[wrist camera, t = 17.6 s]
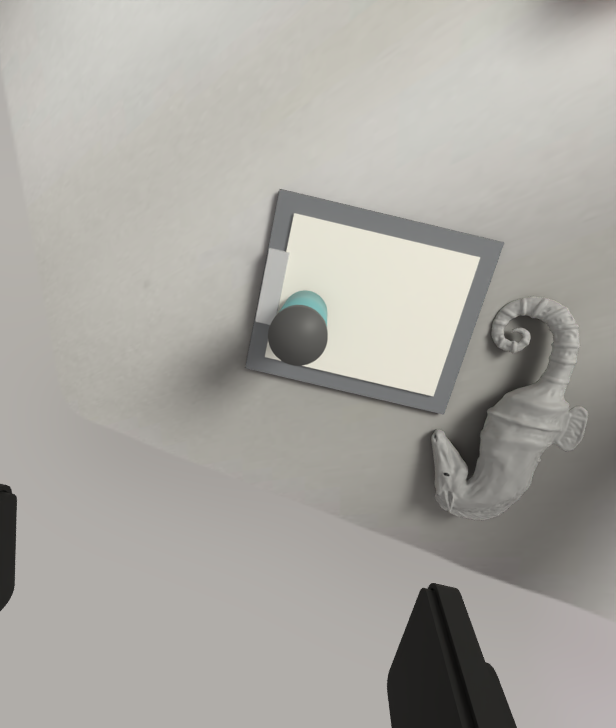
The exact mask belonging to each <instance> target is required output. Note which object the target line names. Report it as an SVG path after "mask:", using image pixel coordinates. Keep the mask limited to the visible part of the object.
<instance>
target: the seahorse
mask: <svg viewBox="0 0 616 728" xmlns="http://www.w3.org/2000/svg"><path fill="white" fill-rule="evenodd" d="M519 315H522V316H524V315H527V316H530V317H531V318H537V319H540V320H541V321H542V322H545V323H546V324H547V325H548V326H549V330H550V331H551V332H552V334H553V341H554V342H553V343H552V344H551V346H552V352H551V355H550V356H549V363H548V366H547V369H546V370H545V372H544V373H543V374H542V376H541V377H540V379H539V380H538V381H537V382H536V383H534V384H531V385H528V386H524V387H521V388H518V389H515V390H513V391H511V392H508V393H506V394H505V395H504V396H503V398H502V399H501V400H500V401H499V402H498V403H497V404H496V405H495V406H494V407H491V408H489V409H488V410H487V415H488V416H487V418H486V421H485V424H484V428H483V429H482V431H481V433H480V439H481V442H480V449H479V452H480V456H479V458H478V460H477V464H476V469H475V472H474V474H473V476H472V477H471V478H469V479H467V475H468V467H467V465H466V463H465V462H464V461H463V459H462V458H461V456H460V454H459V452H458V451H457V450H456V448H455V447H454V446H453V445H452V443H451V442H450V441H449V440H448V438H447V437H446V436H445V433H444V432H443V431H442V430H440V429H436V430H435V432H434V433H433V434H432V436H431V442H432V447H433V456H434V463H435V482H434V485H435V489H436V494H435V500H436V502H438V503H439V504H440V507H441V508H442V509H444V510H445V511H447V510H448V511H449V513H450V514H453V515H455V516H457V517H461V518H467V519H472V520H481V521H484V520H487V519H490V518H494V517H497V516H499V515H500V514H501V513H502V512H505V511H506V510H507V509H509V507H510V505H512V504H513V503H515V502H516V501H518V500H519V498H520V497H521V495H523V493H524V492H525V491H527V489H528V488H529V487H530V485H531V482H532V478H533V473H534V470H535V469H536V467H537V464H538V462H540V461H541V459H540V456H541V454H543V452H544V450H545V449H546V448H548V447H549V446H551V445H552V443H553V444H555V445H557V446H558V447H559V448H561V449H562V450H563V451H572V450H573V449H575V448H576V446H577V445H578V444H579V443H580V442H581V440H582V438H583V436H584V432H585V428H586V425H587V419H588V412H587V410H586V409H585V408H583V407H581V406H576V407H574V408H572V409H571V410H569V404H568V402H567V401H566V400H565V399H564V394H565V390H566V387H567V384H569V382H570V376H571V373H572V371H573V368H574V365H575V364H576V363H577V354H578V349H579V348H580V345H579V332H578V328H579V325H578V324H576V321H575V319H574V317H573V316H572V315H571V313H570V312H569V308H568V307H565V306H563V305H561V304H560V303H558V302H556V301H554V300H551V299H548V298H545V297H535V296H531V297H526V298H522V299H518V300H515V301H512V302H510V303H508V304H507V305H505V306H504V307H503V308H502V309H501V310H500V311H499V312H498V313H497V315H496V317H495V319H494V321H493V324H492V330H491V336H492V338H493V340H494V342H495V344H496V345H497V346H498V348H501V349H502V350H504V351H509V352H512V353H516V352H519V351H521V350H522V349H523V348H525V347H526V346H528V345H529V342H530V339H531V337H530V333H529V332H528V331H527V330H526V329H524V328H515V329H513V330H512V332H518V333H521V334H522V336H523V338H522V339H521V340H520V341H519V342H516V341H509V340H508V339H506V338H505V337H504V327H505V326H506V325H507V324H508V323H509V321H510V320H511V319H513V318H516V317H517V316H519Z"/></svg>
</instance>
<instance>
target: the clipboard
mask: <svg viewBox="0 0 616 728" xmlns="http://www.w3.org/2000/svg"><path fill="white" fill-rule="evenodd" d="M503 245H504V242H500V241H496V240H492V239H488V238H484V237H479V236H475V235H471V234H467V233H463V232H458V231H454V230H450V229H446V228H442V227H438V226H433V225H429V224H425V223H421V222H417V221H412V220H408V219H404V218H400V217H396V216H392V215H387V214H383V213H379V212H375V211H371V210H366V209H362V208H358V207H354V206H350V205H345V204H341V203H337V202H333V201H329V200H325V199H320V198H316V197H312V196H308V195H304V194H299V193H295V192H291V191H287V190H283V189H280V190H279V196H278V201H277V206H276V211H275V216H274V222H273V227H272V232H271V237H270V242H269V247H268V253H267V258H266V263H265V268H264V273H263V279H262V284H261V289H260V294H259V299H258V305H257V310H256V315H255V320H254V325H253V331H252V336H251V341H250V346H249V351H248V357H247V362H246V367H245V368H247V369H251V370H256V371H260V372H264V373H268V374H273V375H277V376H281V377H285V378H290V379H294V380H298V381H303V382H307V383H311V384H315V385H320V386H324V387H328V388H333V389H337V390H341V391H345V392H350V393H354V394H358V395H362V396H367V397H371V398H375V399H380V400H384V401H388V402H392V403H397V404H401V405H405V406H409V407H414V408H418V409H422V410H427V411H431V412H435V413H439V414H444V413H445V410H446V407H447V404H448V401H449V399H450V396H451V393H452V390H453V387H454V384H455V382H456V379H457V376H458V373H459V370H460V367H461V364H462V362H463V359H464V356H465V353H466V350H467V347H468V344H469V342H470V339H471V336H472V333H473V330H474V327H475V325H476V322H477V319H478V316H479V313H480V310H481V307H482V305H483V302H484V299H485V296H486V293H487V290H488V287H489V285H490V282H491V279H492V276H493V273H494V270H495V268H496V265H497V262H498V259H499V256H500V253H501V250H502V248H503ZM303 290H307V291H312V292H314V293H316V294H318V295H319V296H320V297H321V298H322V299H323V300H324V302H325V304H326V306H327V330H328V340H327V345H326V348H325V350H324V352H323V353H322V355H321V356H320V357H319V358H318V359H317V360H315V361H314V362H312V363H310V364H307V365H302V366H294V365H290V364H287V363H284V362H283V361H281V360H280V359H278V358H277V357H276V356H275V354H274V353H273V352H272V350H271V348H270V346H269V342H268V330H269V327H270V324H271V322H272V320H273V319H274V317H275V316H276V315H277V314H278V313H279V311H280V310H281V308H282V307H283V305H284V303H285V302H286V300H287V299H288V298H289V297H290V296H291V295H292V294H294V293H296V292H298V291H303Z"/></svg>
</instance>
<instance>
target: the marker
mask: <svg viewBox="0 0 616 728" xmlns="http://www.w3.org/2000/svg"><path fill="white" fill-rule="evenodd" d="M327 340H328V330H327V306H326V304H325V302H324V300H323V299H322V298H321V297H320V296H319V295H318V294H316V293H314V292H312V291H307V290H303V291H298V292H296V293H294V294H292V295H291V296H290V297H289V298H288V299H287V300H286V302H285V303H284V305H283V307H282V308H281V310H280V311H279V313H278V314H277V315H276V316H275V317H274V319H273V320H272V322H271V324H270V327H269V330H268V342H269V346H270V348H271V350H272V352H273V353H274V354H275V356H276V357H277V358H278V359H280V360H281V361H283V362H284V363H287V364H290V365H294V366H302V365H307V364H310V363H312V362H314V361H315V360H317V359H318V358H319V357H320V356H321V355H322V353H323V352H324V350H325V348H326V345H327Z"/></svg>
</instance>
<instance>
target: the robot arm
mask: <svg viewBox="0 0 616 728" xmlns="http://www.w3.org/2000/svg"><path fill="white" fill-rule="evenodd" d="M16 510H17V497H16V496H15V494H12V491H11V488H10V486H7V485H3V484H0V611H1V610H2V609H3V608H4V606H5V605H6V604H7V603H8V601H9V600H10V598H11V596H12V593H13V591H14V586H15V549H16ZM387 692H388V701H389V709H390V717H391V726H392V728H517V727H516V724H515V721H514V719H513V716H512V714H511V711H510V708H509V705H508V703H507V700H506V697H505V695H504V692H503V689H502V687H501V684H500V681H499V679H498V676H497V674H496V672H495V670H494V668H493V667H492V666H491V665H490V664H489V663H486V662H485V660H484V657H483V655H482V652H481V649H480V646H479V643H478V641H477V638H476V635H475V632H474V630H473V627H472V624H471V621H470V618H469V616H468V613H467V610H466V607H465V604H464V602H463V599H462V596H461V594H460V592H459V590H458V589H457V588H453V587H448V586H444V585H440V584H436V583H431V584H430V585H429V587H428V589H426V588H422V589H421V590H420V592H419V595H418V598H417V600H416V603H415V605H414V608H413V611H412V613H411V616H410V618H409V621H408V624H407V626H406V629H405V632H404V634H403V637H402V639H401V642H400V644H399V647H398V650H397V652H396V655H395V658H394V660H393V663H392V665H391V668H390V670H389V674H388V680H387Z"/></svg>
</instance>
